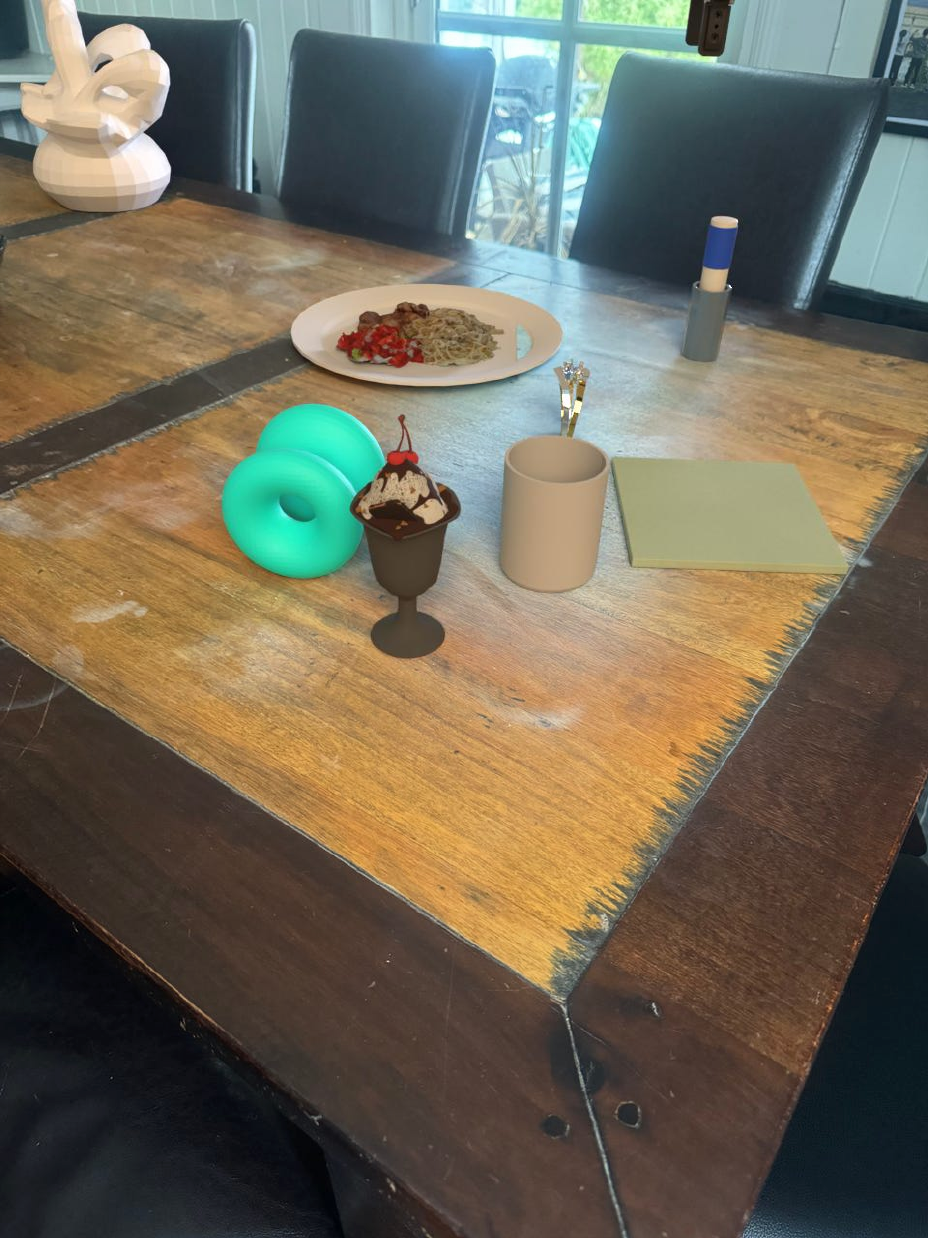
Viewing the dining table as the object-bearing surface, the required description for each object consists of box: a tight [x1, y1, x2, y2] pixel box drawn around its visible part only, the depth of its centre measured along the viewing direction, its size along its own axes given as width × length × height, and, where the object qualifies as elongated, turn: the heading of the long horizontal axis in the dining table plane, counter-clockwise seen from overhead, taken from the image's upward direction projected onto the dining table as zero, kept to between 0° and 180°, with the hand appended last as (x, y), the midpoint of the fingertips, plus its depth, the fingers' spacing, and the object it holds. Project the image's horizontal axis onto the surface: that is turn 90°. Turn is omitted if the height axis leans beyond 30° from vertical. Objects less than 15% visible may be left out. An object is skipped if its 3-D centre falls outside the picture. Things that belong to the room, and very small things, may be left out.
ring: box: [552, 358, 591, 438], centre depth 81 cm, size 7×3×8 cm, turn 172°
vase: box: [19, 0, 172, 213], centre depth 138 cm, size 29×22×35 cm
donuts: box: [221, 403, 386, 580], centre depth 66 cm, size 10×10×10 cm
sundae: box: [349, 413, 462, 659], centre depth 56 cm, size 7×7×15 cm
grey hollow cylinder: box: [680, 280, 733, 363], centre depth 98 cm, size 4×4×8 cm
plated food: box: [290, 283, 564, 387], centre depth 101 cm, size 30×30×3 cm
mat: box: [610, 456, 850, 575], centre depth 74 cm, size 16×16×1 cm
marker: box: [699, 215, 739, 292], centre depth 95 cm, size 3×3×14 cm
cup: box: [498, 434, 611, 594], centre depth 66 cm, size 7×10×9 cm
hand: (702, 50), depth 83 cm, fingers open, 8 cm apart
